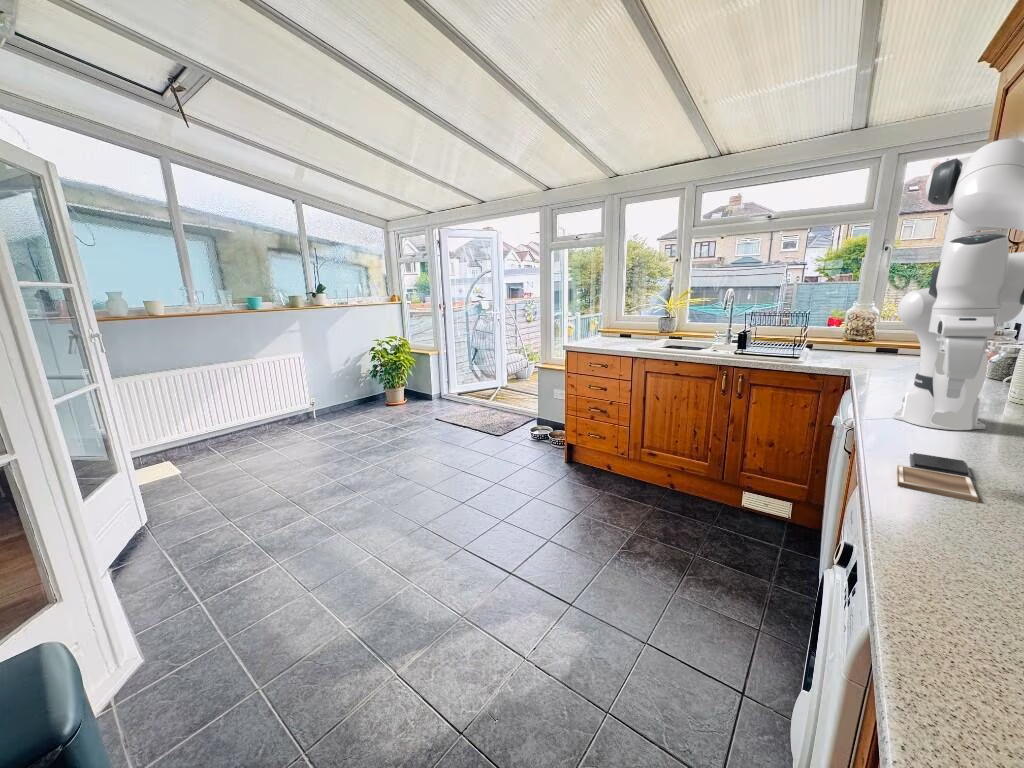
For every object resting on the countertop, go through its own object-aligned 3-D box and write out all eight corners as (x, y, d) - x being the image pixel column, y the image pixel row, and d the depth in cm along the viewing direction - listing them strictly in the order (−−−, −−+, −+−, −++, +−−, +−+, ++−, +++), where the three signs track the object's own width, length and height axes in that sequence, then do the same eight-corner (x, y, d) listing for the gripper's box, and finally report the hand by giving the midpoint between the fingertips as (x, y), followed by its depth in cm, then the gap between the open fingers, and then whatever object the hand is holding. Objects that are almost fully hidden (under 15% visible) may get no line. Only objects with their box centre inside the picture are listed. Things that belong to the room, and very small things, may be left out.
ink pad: (909, 457, 97) (910, 451, 97) (965, 466, 91) (966, 460, 91) (910, 470, 91) (911, 463, 90) (971, 481, 85) (972, 474, 84)
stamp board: (897, 468, 92) (897, 464, 91) (970, 481, 84) (970, 477, 84) (897, 486, 84) (898, 481, 84) (978, 502, 76) (979, 497, 76)
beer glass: (986, 431, 78) (1001, 353, 75) (943, 430, 79) (956, 353, 76) (955, 420, 85) (968, 348, 82) (915, 420, 86) (927, 349, 83)
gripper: (934, 320, 88) (924, 383, 91) (943, 327, 73) (931, 402, 76) (978, 320, 84) (966, 386, 87) (997, 327, 69) (982, 407, 72)
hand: (950, 393), depth 81 cm, fingers closed on beer glass, 6 cm apart
